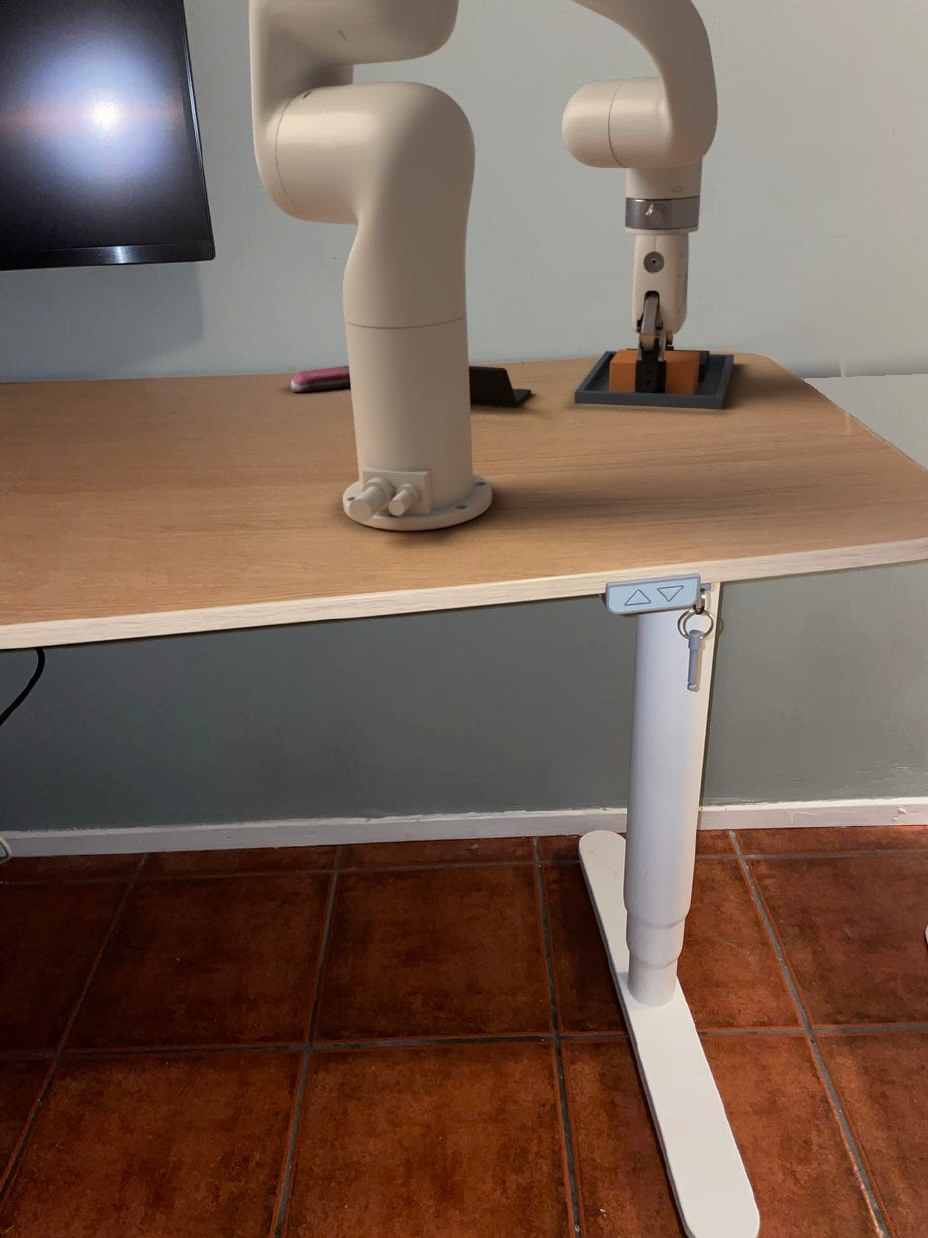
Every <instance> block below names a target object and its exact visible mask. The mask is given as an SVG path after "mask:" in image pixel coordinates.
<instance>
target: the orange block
mask: <svg viewBox="0 0 928 1238" xmlns="http://www.w3.org/2000/svg"><path fill="white" fill-rule="evenodd" d="M617 351H618V352H617V354H616V355H615V356H614V358H613V359H612V361H611V362H610V390H609V392H635V371H636V360H637V352H638V350H626V349H618V350H617ZM699 359H700V352H691V351H665V354H664V360H667V366H666V385H665V394H686V395H695V392H696V390H697V387H698V373H699Z"/></svg>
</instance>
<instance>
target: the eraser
mask: <svg viewBox="0 0 928 1238" xmlns="http://www.w3.org/2000/svg"><path fill="white" fill-rule="evenodd" d="M345 387H351V383H350V372H349V364H348V365H342V366H336V367H335V366H334V367H326V368H318V369H311V370H303V371H299V372H297V373H296V374H295V375H294V377H293V378H292V379H291V381H290V389H291V391H292V392H299V393H301V392H311V391H320V390H328V389H337V388H345Z"/></svg>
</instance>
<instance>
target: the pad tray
mask: <svg viewBox="0 0 928 1238" xmlns="http://www.w3.org/2000/svg"><path fill="white" fill-rule="evenodd" d="M618 351H619V350H617V351H616V350H606V351H604V353H603V354H602V355H601V357H600V358H599V359H598V360H597V362H596V363H595V364H594V366H593V368H592V369H591V370H590V371H589V373H588V374H587V375H586V377H585V378H584V380H583V381H582V382H581V383H580V385H579V386H578V387H577V388H576V390H575V391H574V404H581V405H605V406H627V407H628V406H629V407H651V408H652V407H653V408H673V409H674V408H677V409H699V410H722V409H723V405H724V400H725V397H726V393H727V389H728V386H729V382H730V379H731V374H732V371H733V367H734V361H735V355H734V354H728V353H727V354H725V353H709V367H708V370H707V372H706V375H705V378H704V381H703V382H698V387H697V390H696V392H695V395H686V394H661V393H635V392H609V390H610V362H611V361H612V359H613V358H614V356H615V355H616V354H617V352H618Z"/></svg>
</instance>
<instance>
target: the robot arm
mask: <svg viewBox="0 0 928 1238" xmlns="http://www.w3.org/2000/svg"><path fill="white" fill-rule="evenodd" d="M570 1H572V2H574V3H575V4H578V5H579V6H581V7H584V8H585V9H588V10H590V11H592V12H594V13H596V14H598V15H600V16H602V17H604V18H606V19H608V20H610V21H612V22H613V23H615V24H617V25H618V26H620V27H621V28H622V29H624V30H625V31H626V32H628V33H629V34H630V35H631V36H632V37H634V38H635V40H636V41H638V42H639V44H640V45H641V46H642V47H643V49H644V50H645V51H646V52H647V54H648V56H649V57H650V59H651V60H652V62H653V64H654V66H655V69H656V71H657V73H658V76H643V77H642V76H641V77H630V78H614V79H602V80H597V81H593V82H590V83H588V84H586V85H584V86H582V87H580V88H579V89H578V90H577V91H576V92H575V93H574V94H573V95H572V96H571V97H570V99H569V101H567V104H566V106H565V109H564V111H563V115H562V120H561V134H562V140H563V141H564V145H565V147H566V149H567V151H568V152H569V154H570V155H571V156H572V157H573V159H575V160H576V161H578V162H579V163H581V164H583V165H585V166H589V167H592V168H599V169H626V174H625V175H626V176H625V177H626V178H625V179H626V180H625V210H624V233H626V234H631V235H634V247H633V248H634V249H633V269H632V294H631V295H632V297H631V300H632V301H631V314H632V315H631V323H632V326H631V327H632V330H633V331H634V332H635V333H637V334H638V342H637V349H638V352H637V360H636V371H635V393H661V394H665V385H666V366H667V360H664V354H665V351H674V350H675V345H673V343H674V335H676V334H677V333H679V332H680V331H681V329H682V327H683V326H684V324H685V321H686V319H687V315H688V287H689V285H688V284H689V264H690V263H689V260H690V258H689V257H690V247H689V246H690V236H689V234H690V233H694V232H698V231H699V224H700V209H701V193H702V191H701V190H702V177H703V176H702V175H703V174H702V173H703V160H704V157H705V156H706V155H707V153H708V152H709V151H710V149H711V147H712V145H713V142H714V139H715V137H716V132H717V126H718V116H719V110H718V109H719V108H718V105H719V104H718V91H717V84H716V76H715V75H716V74H715V69H714V63H713V61H714V60H713V56H712V51H711V43H710V39H709V34H708V31H707V29H706V26H705V23H704V21H703V18H702V16H701V14H700V13H699V11H698V9H697V8H696V6H695V4H694V2H693V1H692V0H570ZM459 5H460V0H248V26H249V27H248V29H249V58H250V59H249V61H250V62H249V63H250V83H251V84H250V87H251V91H250V92H251V116H252V117H251V119H252V135H253V137H252V138H253V147H254V148H253V149H254V156H255V162H256V165H257V171H258V174H259V178H260V180H261V183H262V185H263V187H264V189H265V191H266V193H267V195H268V196H269V198H270V199H271V200H272V201H273V203H274V204H275V206H277V207H278V208H279V209H280V210H281V212H284V213H285V214H286V215H288V216H291V217H292V218H294V219H297V220H299V221H300V220H301V221H304V222H310V223H311V222H312V223H321V224H336V225H353V226H358V227H357V231H356V235H355V239H354V241H353V244H352V246H351V250H350V252H349V254H348V258H347V261H346V264H345V269H344V272H343V280H342V291H341V292H342V308H343V309H342V311H343V319H344V328H345V329H344V330H345V337H346V349H347V358H348V359H347V360H348V365H349V372H350V383H351V386H350V391H351V403H352V404H351V405H352V413H353V415H352V416H353V426H354V434H355V447H356V455H357V456H356V457H357V467H358V468H357V469H358V480H357V481H355V482H354V483H352V484H351V485H350V486H348V487H347V488H346V489H345V491H344V493H343V494H342V505H343V510H344V513H345V514H346V515H347V516H348V517H349V518H350V519H352V520H353V521H355V522H357V523H359V524H362V525H363V526H368V527H370V528H375V529H380V530H389V531H400V532H401V531H404V532H405V531H408V532H409V531H425V530H427V531H428V530H436V529H440V528H441V529H442V528H448V527H451V526H456V525H459V524H462V523H465V522H468V521H471V520H473V519H474V518H477V517H479V516H480V515H481V514H483V513H484V512H485V511H487V510H488V509H489V507H490V506H491V505H492V501H493V491H492V486H491V484H490V483H489V481H487V480H486V479H484V478H483V477H482V476H481V475H478V474H475V473H473V471H474V470H473V446H472V443H473V442H472V421H471V420H472V419H471V416H472V415H471V405H470V388H469V366H470V365H469V364H470V363H469V362H470V361H469V339H468V337H469V335H468V312H467V285H466V283H467V281H466V280H467V279H466V278H467V277H466V258H467V257H466V256H467V255H466V254H467V253H466V252H467V235H468V221H469V215H470V213H469V212H470V207H471V201H472V192H473V186H474V181H475V180H474V179H475V171H476V145H475V143H476V142H475V137H474V133H473V129H472V125H471V123H470V121H469V118H468V116H467V115H466V113H465V112H464V110H463V108H462V107H461V106H460V104H458V102H457V101H456V100H454V98H452V97H451V96H450V95H449V94H448V93H446V92H444V91H443V90H441V89H439V88H437V87H435V86H432V85H429V84H425V83H420V82H416V81H403V80H401V81H400V80H392V81H391V80H389V81H373V82H359V83H354V69H355V66H356V65H369V64H380V63H381V64H382V63H393V62H402V61H409V60H415V59H419V58H422V57H427V56H429V55H431V54H433V53H435V52H437V51H439V50H440V49H441V48H443V46H445V45H446V44H447V43H448V41H449V39H450V38H451V36H452V34H453V32H454V29H455V27H456V23H457V19H458V13H459V12H458V11H459Z"/></svg>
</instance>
